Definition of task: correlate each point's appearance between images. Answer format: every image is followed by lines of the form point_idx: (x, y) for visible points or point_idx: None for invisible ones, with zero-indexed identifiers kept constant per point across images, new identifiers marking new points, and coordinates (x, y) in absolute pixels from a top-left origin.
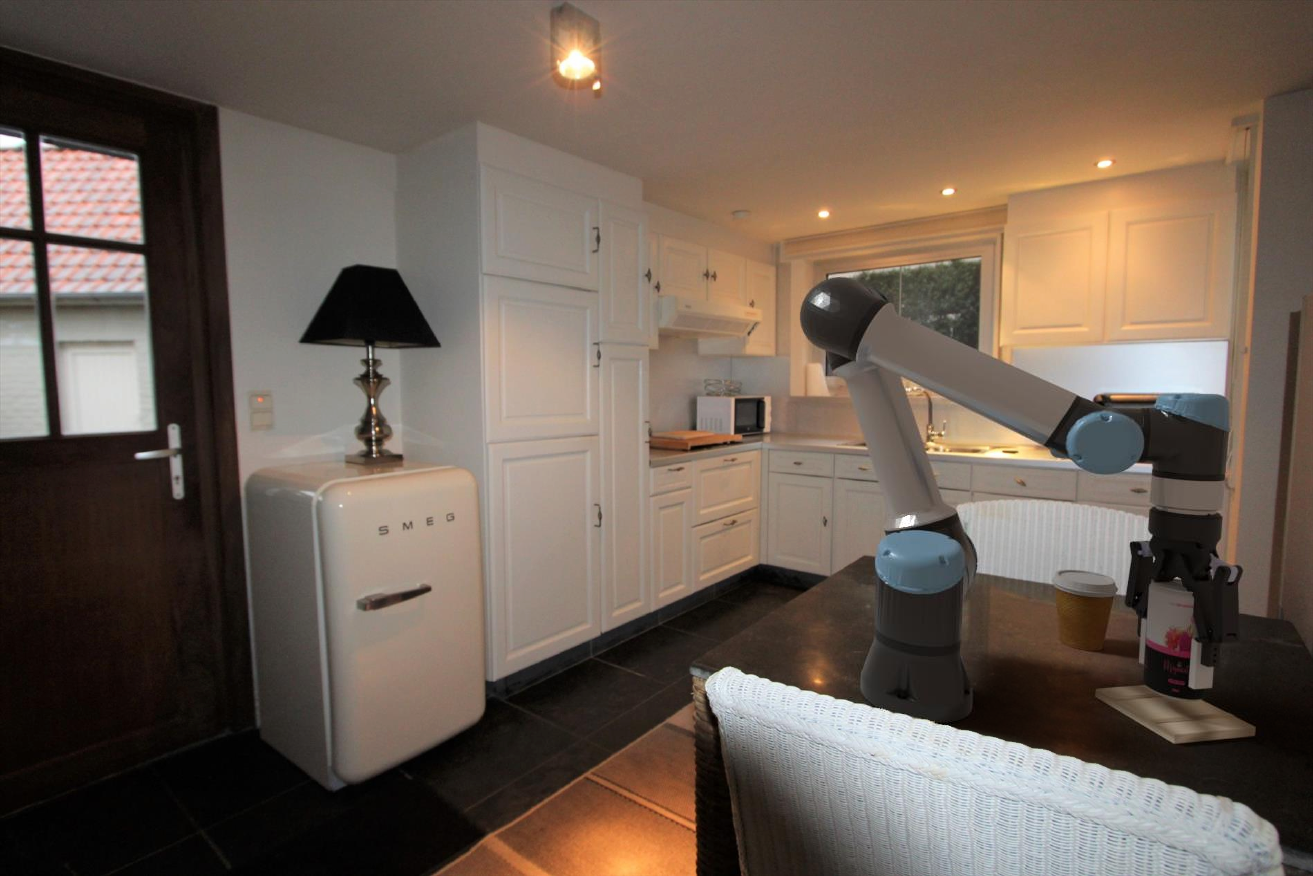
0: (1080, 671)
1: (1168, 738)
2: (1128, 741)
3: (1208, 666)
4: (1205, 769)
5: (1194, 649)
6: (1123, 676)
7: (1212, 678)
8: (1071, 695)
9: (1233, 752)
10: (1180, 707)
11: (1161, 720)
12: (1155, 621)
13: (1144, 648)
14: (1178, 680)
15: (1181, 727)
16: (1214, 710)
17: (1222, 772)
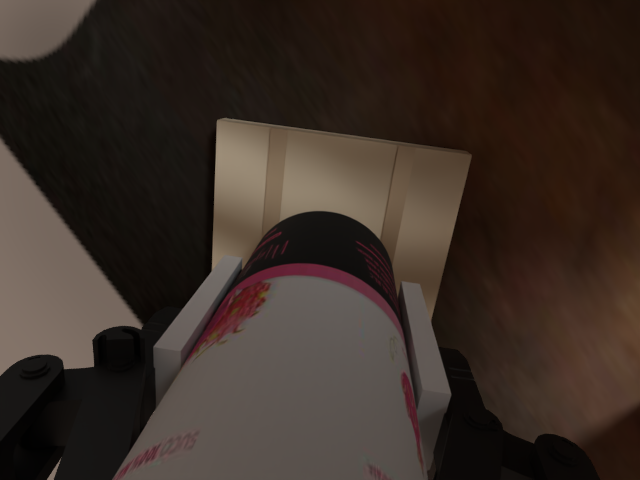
0: (592, 256)
1: (237, 120)
2: (259, 4)
3: (165, 309)
4: (125, 77)
5: (182, 323)
6: (514, 334)
7: None
8: (502, 87)
9: (173, 215)
10: None
11: (276, 156)
12: (312, 336)
13: (407, 310)
14: (259, 248)
15: (241, 174)
16: None
17: (111, 104)
